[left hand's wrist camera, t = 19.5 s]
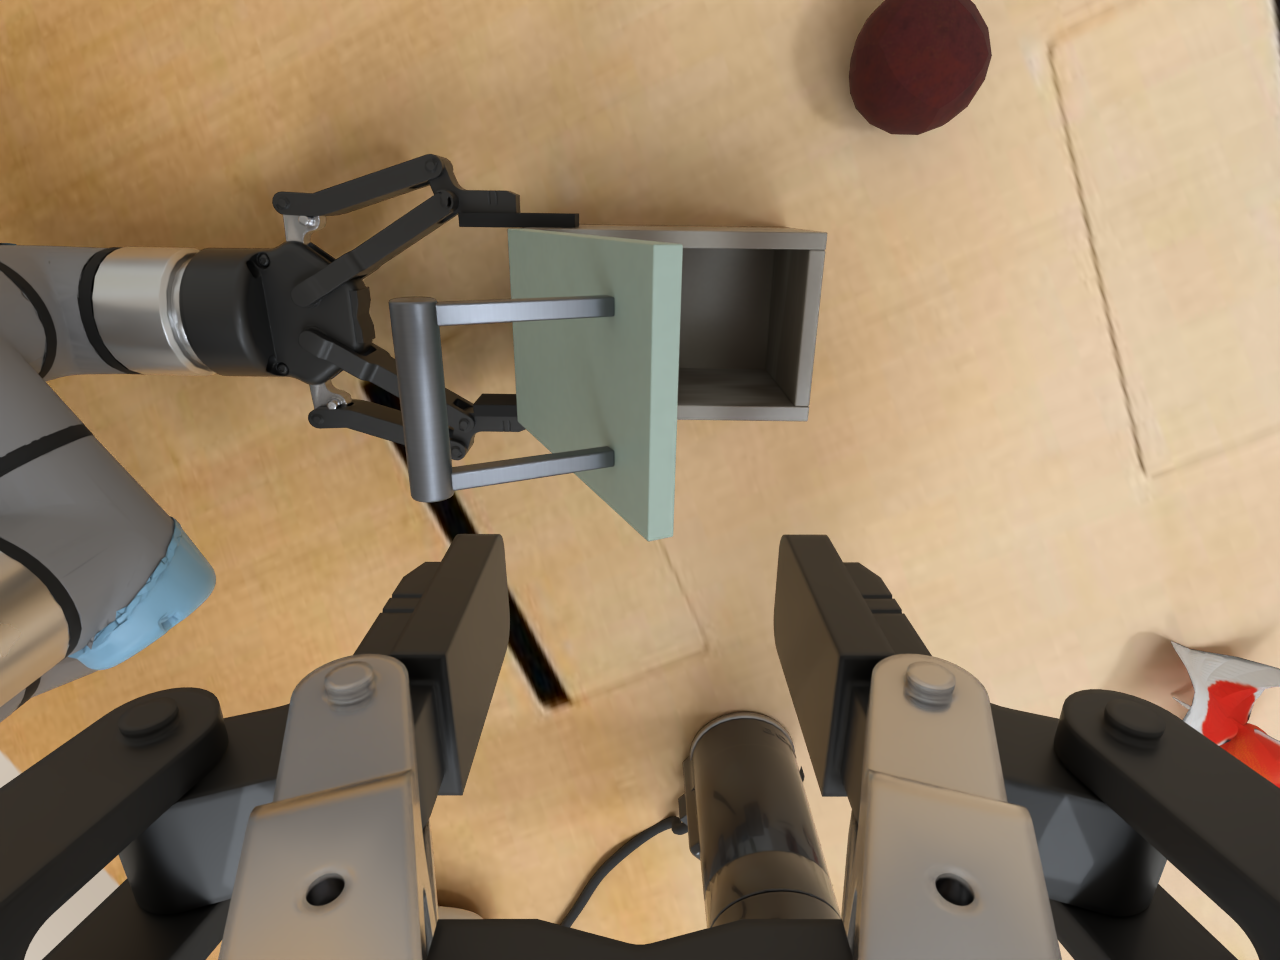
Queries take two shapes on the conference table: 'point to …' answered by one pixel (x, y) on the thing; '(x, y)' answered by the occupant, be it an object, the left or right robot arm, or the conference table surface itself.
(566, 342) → the lid
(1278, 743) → the white red irregular piece
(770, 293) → the chest
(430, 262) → the conference table surface
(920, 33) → the potato
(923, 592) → the conference table surface
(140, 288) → the right robot arm
